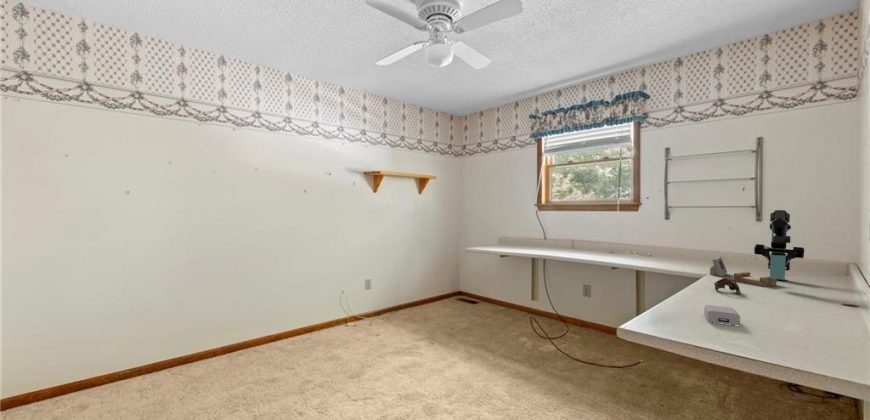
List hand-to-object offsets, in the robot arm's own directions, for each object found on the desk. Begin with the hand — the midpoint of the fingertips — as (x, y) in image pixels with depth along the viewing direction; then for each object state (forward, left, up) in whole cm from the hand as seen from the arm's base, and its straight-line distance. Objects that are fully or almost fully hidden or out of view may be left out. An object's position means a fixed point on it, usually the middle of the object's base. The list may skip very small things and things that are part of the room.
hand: (777, 263), depth 185 cm
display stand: (-6, -15, -13) cm, 21 cm away
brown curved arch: (+30, -1, -14) cm, 33 cm away
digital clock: (-9, -36, -14) cm, 40 cm away
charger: (+75, +31, -14) cm, 82 cm away
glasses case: (-1, -1, -8) cm, 8 cm away
